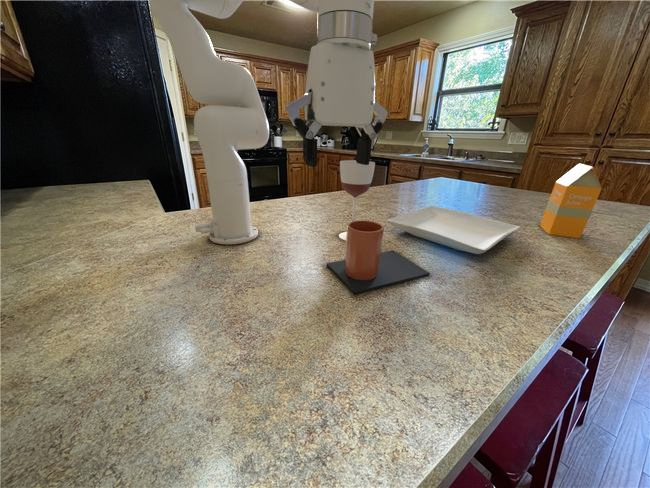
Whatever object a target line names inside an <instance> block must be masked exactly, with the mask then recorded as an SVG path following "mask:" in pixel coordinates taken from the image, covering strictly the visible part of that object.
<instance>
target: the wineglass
mask: <svg viewBox="0 0 650 488" xmlns="http://www.w3.org/2000/svg"><path fill="white" fill-rule="evenodd" d="M375 167H376V162H375V161H371V160H370V161H369V165H363V164H359V163H357V162H356V159H347V160H345V159H344V160H340V161H339V174H340V182H341V183H340V184H341V187H342V189H343V191H344V192H346V193H347V194H349V195H350V196H352V197H353V198H352V200H353V201H352V214H351V222H352V221H356V209H357V197H358V196H359V197H360V196H361V195H364V194H366V193H367V192H368V191H369V189H370V188H371V185H372V181H373V178H374V173H375ZM338 237H339V239H341V240H343V241H346V238H347V231H344V232H341V233H339V234H338Z"/></svg>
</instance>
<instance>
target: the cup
mask: <svg viewBox="0 0 650 488" xmlns="http://www.w3.org/2000/svg"><path fill="white" fill-rule="evenodd" d="M346 225H347V226H346V232H347V238H346V240H345V257H344V260H345V273H346V274H347V275H348V276H349V277H351V278H354V279H357V280H370V279H373V278H375V277H377V275H378V271H379V263H380V255H381V253H382V246H383V239H384V229H385V227H384V225H382V224H381V223H379V222H375V221H372V220H364V219H360V220H355V221H352V220H351V221H350V222H348V223H347V224H346Z"/></svg>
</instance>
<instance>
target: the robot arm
mask: <svg viewBox="0 0 650 488" xmlns="http://www.w3.org/2000/svg"><path fill="white" fill-rule="evenodd" d="M244 1H245V0H148V2H149V5H150V8H151V10H152V12H153V14H154V16H155V18H156V20H157V22H158V23H159V25H160V27H161V29H162V31H163V32H164V34H165V35H166V38H167V40H168V41H169V44H170V47H171V49H172V52H173V54H174V57H175V60H176V62H177V66H178V68H179V71H180V73H181V76H182V79H183V82H184V84H185V87H186V89H187V92H188V94H189V96H191V98H192V100H194V101H195V102H197V103H200V104H202V105H204V106H202V107H200V108H199V109H198V110H197V111H196V112H195V113H194V116H193V127H194V131H195V135H196V138H197V141H198V144H199V147H200V150H201V154H202V158H203V163H204V164H203V165H204V168H205V175H206V181H207V182H206V183H207V188H208V193H209V194H208V195H209V201H210V208H211V214H212V218H211V221H210V222H207V223H205V224H202V223H201V224H194V229H195V233H200V234H201V235H204V234H205V235H206V234H208V238H209V240H210V241H211V242H213V243H215V244H219V245H238V244H245V243H248V242H251V241H253V240H254V239H256V238H257V237H258V236H259V230H258V228H257V227H255V226H253V224H252V213H251V203H250V192H249V181H248V171H247V167H246V164H245V162H244V161H243V159H242V158H241V157H240V155H239V153H238V152H237V151H239V150H240V151H241V150H253V149H254V150H255V149H256V150H257V149H261V148H263V147H264V146H266V145H267V144H268V141H269V139H270V126H269V121H268V118H267V114H266V111H265V108H264V105H263V101H262V99H261V97H260V94H259V93H260V92H259V91H258V87H257V84H256V82H255V79H254V78H253V76H252V74H251V72H250V71H249V70H248V69H247V68H246V67H244V66H243V65H241V64H239V63H235V62H231V61H227V60H223V59H221V58H219V57H218V56H217V54H216V51H215V50H214V47H213V43H212V41H211V38H210V36H209V34H208V32H207V30H205V28H204V26H203V25H202V24H201V22H200V21H199V20H198V18H196V17H195V16H194V14H192V12H191V11H190V10H192V11H195V12H197V13H202V14H204V15H208V16H210V17H213V18H215V19H220V20H221V19H222V20H224V19H228V18H230V17H231V16H232V15H233V14H234V13H235V12H236V10H238V8H239V7H240V6H241V4H242V3H243V2H244ZM289 2H292V3H294V4H295V5H297V6H299V7H302V8H303V9H305V10H308V11H310V12H314V13H317V16H316V17H317V21H316V44H315V45H312V47H311V48H310V53H309V59H308V64H307V71H306V81H305V91H304V93H305V94H303V95H301V96H299V97H297V98H295V99H294V100H291V101H290V102H288V103H287V104H286V105H285V106H284V109H285V111H286V114H287V116H288V119H289V120H290V122H291V126H292V127H293V128H294V130H295V131H296V132H297V133H298V134H299V136H300V138H302V159H303V161H304V163H305V166H307V167H311V168H316V167H317V166H318V140H317V138H315V136H316V135H317V133H318V132H319V131H320V130H321V128H322V126H327V127H329V126H330V127H355V129H356V130H357V133H358V134H359V136H360V138H358V139H357V143H356V155H355V156H356V157H355V160H356V162H357V163H359V164H363V165H369V161H371V157H372V145H373V141H374V140H376V138H377V134H379V132H380V131H381V130H382V129H383V124H384V123H385V121H386V119H387V117H388V115H389V111H388V110H387V109H386V107H383V106H382V105H381V104H380V103H379V102H378V101H376V99H375V97H376V95H375V94H376V70H375V56H374V51H373V50H371V47H372V46H375V45H377V43H378V34H376V33H374V32H373V18H374V8H375V7H374V6H375V0H289ZM189 9H190V10H189ZM303 108H304V120H305V121H304V120H303V119H302V118H301V115H300V110H302V109H303ZM373 118H374V119H373Z"/></svg>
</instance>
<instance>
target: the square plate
mask: <svg viewBox="0 0 650 488" xmlns="http://www.w3.org/2000/svg"><path fill="white" fill-rule="evenodd" d="M387 222H388V223H390V225H391V226H393V227H394V228H396V229H398V230H401V231H403V232H406V233H408V234H410V235H411V236H414V237H417V238H420V239H424V240H427V241H429V242H433V243H436V244H439V245H441V246H444V247H447V248H450V249H453V250H456V251H460V252H464V253H465V252H466V253H469V254H474V255H481V254H484V253H486V252H487V251H489V250H490V249H492V248H493V247H495V245H497V244H498V243H500V242H501V241H503V240H505V239H507V238H508V237H510V236H512V235H513V234H515V233H516V232H518V231H519V230H521V229H522V228H521V226H519V225H515V224H511V223H509V222H508V223H507V222H504V221H500V220H496V219H492V218H489V217H486V216H481V215H477V214H473V213H469V212H465V211H459V210H456V209H450V208H445V207H440V206H435V205H430V206H427V207H423V208H420V209H419V208H418V209H416V210H412V211H409V212H405V213H403V214H400V215H397V216H394V217H391V218H389V219H387Z"/></svg>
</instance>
